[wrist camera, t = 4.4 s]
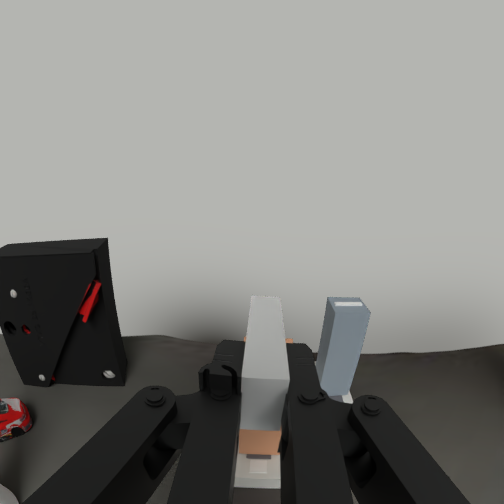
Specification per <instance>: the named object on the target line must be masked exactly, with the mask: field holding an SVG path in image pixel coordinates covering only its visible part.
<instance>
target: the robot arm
mask: <svg viewBox="0 0 504 504" xmlns="http://www.w3.org/2000/svg"><path fill="white" fill-rule="evenodd" d="M313 358H314V357H313V354H312V350H311V349H310V348H309V347H308V346H307V345H306V344H303V343H302V344H301V343H300V344H299V343H286V341H285V333H284V324H283V316H282V308H281V299H280V297H268V296H251V303H250V313H249V320H248V328H247V336H246V342H245V341H232V340H223V341H222V342H221V343H220V344H219V345H217V348H216V351H215V355H214V358H213V362H212V363H210V364H207V365H205V366H204V367H202V368H201V369H200V371H199V372H198V373H199V387H200V391H198V392H196V393H194V394H189V395H180V396H175V395H174V393H173V392H172V391H171V390H169V389H168V388H166V387H162V386H149V387H145V388H143V389H142V390H140V391H139V392H138V393H137V394H136V395H135V396H134V397H133V398H132V399H131V400H130V401H129V402H128V403H127V404H126V405H125V406H124V407H123V408H122V409H121V410H120V411H119V412H118V413H117V414H116V415H114V416H113V417H112V418H111V419H110V420H109V421H108V422H107V423H106V424H105V425H104V426H103V427H102V428H101V429H100V430H99V431H98V432H97V433H96V434H95V435H94V436H93V437H92V438H91V439H90V440H89V441H88V442H87V443H86V444H85V445H84V446H83V447H82V448H81V449H80V450H79V451H78V452H77V453H76V454H74V455H73V456H72V457H71V458H70V459H69V460H68V461H67V462H66V463H65V464H64V465H63V466H62V467H61V468H60V469H59V470H58V471H57V472H56V473H54V474H53V475H52V476H51V477H50V478H49V479H48V480H47V481H46V482H45V483H44V484H43V485H42V486H41V487H39V488H38V489H37V490H36V491H35V492H34V493H33V494H32V495H31V496H30V497H29V498H28V499H26V500H25V501H24V502H23V503H22V504H146V502H147V501H148V500H149V498H150V497H151V495H152V494H153V493H154V491H155V490H156V488H157V487H158V486H159V484H160V483H161V481H162V480H163V478H164V477H165V476H166V474H167V473H168V471H169V470H170V468H171V467H172V465H173V464H174V462H175V461H176V459H177V458H178V456H179V455H180V453H181V452H182V453H181V456H180V460H179V463H178V467H177V470H176V474H175V477H174V481H173V484H172V488H171V491H170V495H169V498H168V502H167V504H232V500H233V491H234V482H235V472H236V463H237V454H238V445H239V431H240V429H247V430H266V431H280V428H281V438H280V442H279V447H278V451H277V453H280V481H281V504H353V499H352V494H351V490H352V492H353V493H354V495H355V497H356V499H357V501H358V503H359V504H470V503H469V501H468V500H467V499H466V498H465V497H464V495H463V494H462V493H461V492H460V490H459V489H458V488H457V487H456V486H455V484H454V483H453V482H452V481H451V479H450V478H449V477H448V476H447V475H446V473H445V472H444V471H443V470H442V469H441V467H440V466H439V465H438V464H437V462H436V461H435V460H434V459H433V458H432V456H431V455H430V454H429V453H428V452H427V450H426V449H425V448H424V447H423V446H422V444H421V443H420V442H419V441H418V440H417V438H416V437H415V436H414V435H413V433H412V432H411V431H410V430H409V429H408V427H407V426H406V425H405V424H404V423H403V421H402V420H401V419H400V418H399V417H398V415H397V414H396V413H395V412H394V411H393V410H392V408H391V407H390V406H389V405H388V404H387V402H385V401H384V400H383V399H382V398H379V397H377V396H372V395H364V396H360V397H358V398H356V399H355V401H354V402H353V403H352V404H351V403H345V402H339V401H336V400H333V399H331V398H329V396H328V394H327V392H326V391H324V390H323V389H322V388H321V386H320V382H319V378H318V374H317V369H316V365H315V361H314V359H313ZM350 488H351V489H350Z"/></svg>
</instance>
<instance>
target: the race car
mask: <svg viewBox="0 0 504 504" xmlns="http://www.w3.org/2000/svg"><path fill="white" fill-rule="evenodd" d="M32 422H33V421H32V419H31V416H30V413H29V411H28V409H27V408H26V406H25V404H24V403H22V402H21V401H20V399H18V398H7V399H0V442H2V441H4V440H7V439H10V438H13V435H14V436H16V437H18V436H20V435H23V434H24V431H25V432H27V431H28V430H29V429H30V428H31V426H32ZM23 430H24V431H23Z"/></svg>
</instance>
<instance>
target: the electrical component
mask: <svg viewBox="0 0 504 504" xmlns="http://www.w3.org/2000/svg"><path fill="white" fill-rule="evenodd" d="M0 327H1V330H2V333H3V336H4V339H5V341H6V344H7V347H8V349H9V352H10V354H11V357H12V359H13V361H14V364H15V366H16V368H17V370H18V373H19V375H20V377H21V379H22V381H23V383H24V384H25V385H33V386H42V387H47V386H48V387H49V385H50V383H59V384H72V385H90V386H124V385H125V375H126V366H127V359H126V355H125V351H124V346H123V342H122V337H121V332H120V327H119V323H118V317H117V311H116V305H115V299H114V292H113V285H112V277H111V269H110V259H109V249H108V238H97V239H78V240H63V241H46V242H31V243H17V244H7V245H5V246H4V247H1V248H0Z"/></svg>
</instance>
